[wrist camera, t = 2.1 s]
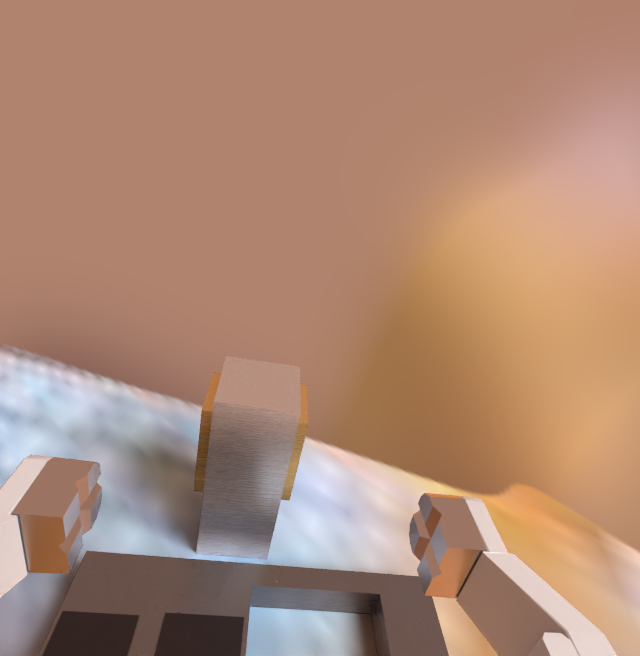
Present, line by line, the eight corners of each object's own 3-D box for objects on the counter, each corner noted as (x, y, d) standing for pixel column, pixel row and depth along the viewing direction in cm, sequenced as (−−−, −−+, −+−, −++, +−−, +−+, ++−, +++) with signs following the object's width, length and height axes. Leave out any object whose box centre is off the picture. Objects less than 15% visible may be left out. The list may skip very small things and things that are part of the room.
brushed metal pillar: (186, 552, 27) (201, 399, 21) (200, 495, 31) (216, 354, 25) (276, 559, 27) (312, 414, 22) (278, 502, 31) (309, 368, 26)
